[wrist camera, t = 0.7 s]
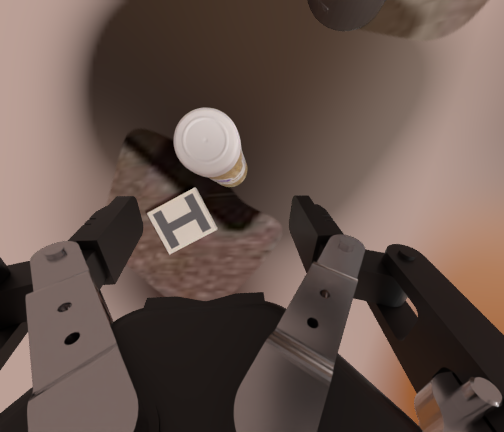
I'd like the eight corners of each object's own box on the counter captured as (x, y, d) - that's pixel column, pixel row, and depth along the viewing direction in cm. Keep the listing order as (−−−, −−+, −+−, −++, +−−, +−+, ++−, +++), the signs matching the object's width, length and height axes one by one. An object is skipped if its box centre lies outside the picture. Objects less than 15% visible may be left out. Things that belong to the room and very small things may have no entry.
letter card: (195, 187, 29) (194, 187, 28) (218, 228, 29) (217, 229, 28) (149, 213, 29) (146, 213, 28) (171, 253, 29) (169, 254, 29)
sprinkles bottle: (218, 191, 29) (183, 182, 15) (207, 157, 28) (161, 117, 15) (252, 181, 28) (247, 162, 15) (242, 146, 28) (226, 95, 15)
